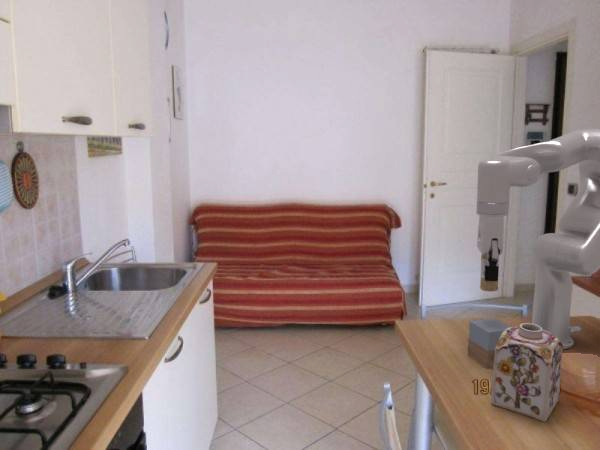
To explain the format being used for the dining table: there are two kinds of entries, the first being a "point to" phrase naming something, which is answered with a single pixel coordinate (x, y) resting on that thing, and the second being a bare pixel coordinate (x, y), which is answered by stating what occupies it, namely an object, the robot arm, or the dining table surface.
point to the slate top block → (486, 332)
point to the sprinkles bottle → (484, 284)
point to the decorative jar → (527, 371)
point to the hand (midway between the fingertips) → (489, 277)
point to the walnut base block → (481, 354)
